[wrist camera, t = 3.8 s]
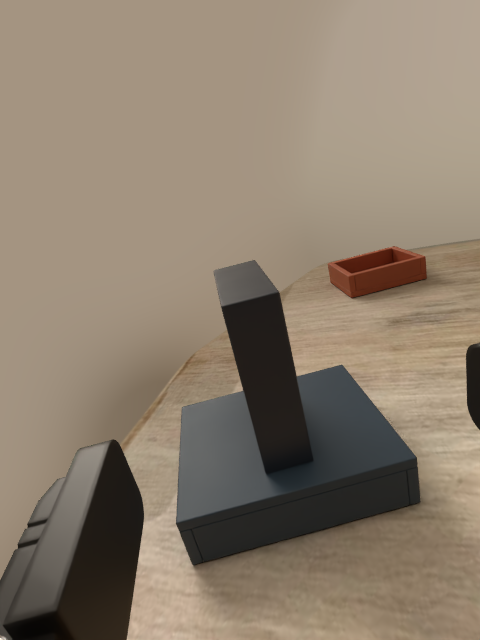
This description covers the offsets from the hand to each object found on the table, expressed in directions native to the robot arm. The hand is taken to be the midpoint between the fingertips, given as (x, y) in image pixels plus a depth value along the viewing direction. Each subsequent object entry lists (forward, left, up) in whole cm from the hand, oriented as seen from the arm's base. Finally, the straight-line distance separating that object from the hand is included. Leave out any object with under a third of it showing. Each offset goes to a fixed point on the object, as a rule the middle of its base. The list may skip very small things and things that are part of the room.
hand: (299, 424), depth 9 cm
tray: (-17, +32, -9) cm, 38 cm away
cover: (-7, +5, -9) cm, 13 cm away
